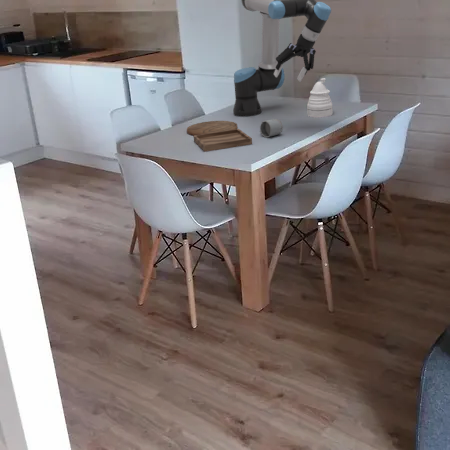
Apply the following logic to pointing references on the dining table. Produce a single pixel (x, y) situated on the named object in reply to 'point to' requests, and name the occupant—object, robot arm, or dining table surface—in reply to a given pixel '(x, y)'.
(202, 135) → the walnut tray
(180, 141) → the dining table surface
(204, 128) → the trivet
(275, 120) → the ceramic mug
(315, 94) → the honey pot
